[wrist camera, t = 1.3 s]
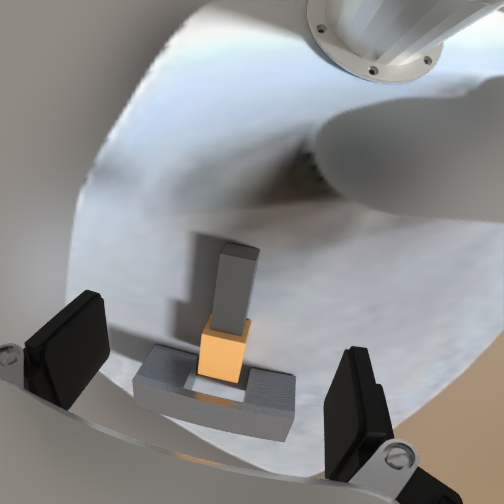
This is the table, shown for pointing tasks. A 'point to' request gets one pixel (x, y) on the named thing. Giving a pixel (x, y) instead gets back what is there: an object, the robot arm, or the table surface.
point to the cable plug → (229, 314)
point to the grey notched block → (211, 407)
